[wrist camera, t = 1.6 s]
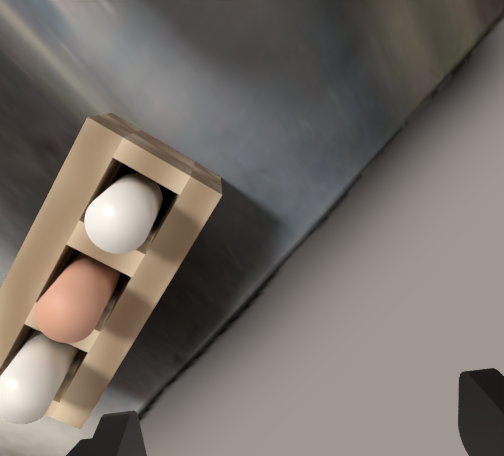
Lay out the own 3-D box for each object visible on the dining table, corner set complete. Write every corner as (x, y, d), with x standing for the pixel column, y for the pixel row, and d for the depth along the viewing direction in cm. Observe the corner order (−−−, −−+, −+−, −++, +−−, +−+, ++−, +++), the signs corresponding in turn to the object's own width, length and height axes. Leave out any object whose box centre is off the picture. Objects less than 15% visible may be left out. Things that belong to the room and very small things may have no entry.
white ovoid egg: (101, 207, 33) (73, 234, 26) (125, 163, 32) (102, 180, 25) (147, 231, 33) (131, 264, 27) (171, 189, 33) (161, 212, 26)
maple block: (-1, 330, 39) (-46, 378, 32) (111, 113, 35) (87, 116, 28) (102, 375, 41) (80, 429, 35) (220, 177, 37) (222, 194, 30)
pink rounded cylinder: (61, 282, 34) (24, 326, 27) (82, 242, 33) (50, 278, 27) (106, 303, 35) (80, 352, 28) (128, 265, 34) (107, 305, 27)
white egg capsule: (23, 351, 35) (-21, 410, 29) (43, 314, 35) (3, 365, 28) (67, 370, 36) (35, 431, 30) (88, 334, 36) (59, 389, 29)
